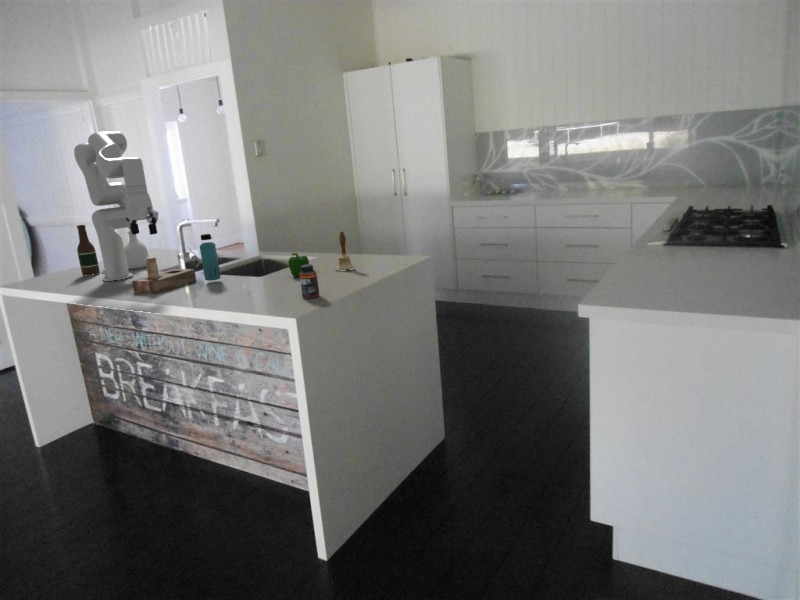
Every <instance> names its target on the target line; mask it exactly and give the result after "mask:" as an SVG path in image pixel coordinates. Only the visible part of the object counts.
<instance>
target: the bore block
mask: <svg viewBox="0 0 800 600" xmlns="http://www.w3.org/2000/svg"><path fill="white" fill-rule="evenodd" d="M158 273H159V278H158V279H154V280H149V278H148V275H147V276H144V277H140V278H137V279H135V280H131V284H132V289H133V293H134V294H144V295H158V294H161V293H165V292H167V291H170V290H173V289H176V288H178V286H179V287H182V286H185V285H187V284H186V283H188V284H191V283H194V282H197V276H196V270H195V269H194V268H189V269H188V268H171V269H168V270H165V271H162V272H161V271H160V272H158ZM193 281H194V282H193ZM190 282H191V283H190ZM184 284H185V285H184ZM181 285H182V286H181ZM175 287H176V288H175ZM172 288H173V289H172Z"/></svg>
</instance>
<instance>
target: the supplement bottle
mask: <svg viewBox="0 0 800 600" xmlns="http://www.w3.org/2000/svg"><path fill="white" fill-rule="evenodd" d="M301 270H302V271H301V272H300V274H299V275H300V277H299V282H300V289H301V297H302V299H304V298H305V300H311V299H312V298H313V299H316V298H319V296H320V288H319V281H318V273H317V270H314V265H313V264H310V263H309V264H306V265H302V266H301Z"/></svg>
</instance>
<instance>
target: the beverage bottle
mask: <svg viewBox="0 0 800 600" xmlns="http://www.w3.org/2000/svg"><path fill="white" fill-rule="evenodd" d="M200 240H201V241H205V242H202V243H201V244H200V245H199V251H200V257H201V263H202V269H203V273H204V275H203V276H204V279H205V281H211V282H212V281H216V280H220V279H221V270H220V269H221V268H220V264H219V257H218V252H217V248H216V244H215V243H214V242H213V241H208V240H213V237H212V235H211V233H204V234H201V235H200Z"/></svg>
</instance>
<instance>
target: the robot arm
mask: <svg viewBox="0 0 800 600" xmlns="http://www.w3.org/2000/svg"><path fill="white" fill-rule="evenodd" d="M87 139H88V140H87V142H82V143H78V144H77V145H76V146H75V147H74V148H73V152H74V154H73V155H74V159H75V162H76V164H77V166H78V167H79V169H80V170H81V172H82V174H83V177H84V179H85V183H86V187H87V191H88V195H89V199H90V201H91V203H92V205H94V206H96V207H104V206H113V205H118V206H116V207H107V208H100V209H96V210H95V211H93V213H92V215H91V221H92V224H93V226H94V229H95V232H96V236H97V240H98V242H99V247H100V253H101V258H102V262H103V267H104V268H103V270H101V271H100V274H101V275H104V276H103V278H102V281H103V280H104V282H115V281H114V280H117V281H122V280H121V279H123V280H126V279H125V278H128V279H130V278H129V277H131V278H133V277H134V273H132V272H129V267H128V265H127V260H126V255H125V250H124V248H125V246H124V242H123V241H124V240H123V238H122V237H121V235H120V234H119V233H118V232H117V231H115V230H119V229H126V228H129V227H131V231H132V234H133V235H134V234H136V235H138V234H140V230H139V224H138V223H137V222H138V221H144V220H145V221H147V222H148V230H149V231H148V232H149V235H150V236H151V235H156V234H158V230H157V229H158V228H157V222H158V220H159V212H158V211H157V210H156V209H154V207H153V203H152V199H151V197H150V193H148V186H147V181H146V176H145V170H144V164H143V160H142V159H141V158H140V157H131V156H130V157H122V156H123V155H124V153H125V152H126V150H127V148H128V142H127V138H126V136H125V134H123V133H122V132H121V131H116V130H115V131H112V130H111V131H96V132H93V133H91V134H90V135H89V136H88V138H87ZM121 178H123V181H124V183H122V182H121V181H120V182H119V181H118V182H108V179H110V180H112V179H121ZM132 276H133V277H132Z"/></svg>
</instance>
